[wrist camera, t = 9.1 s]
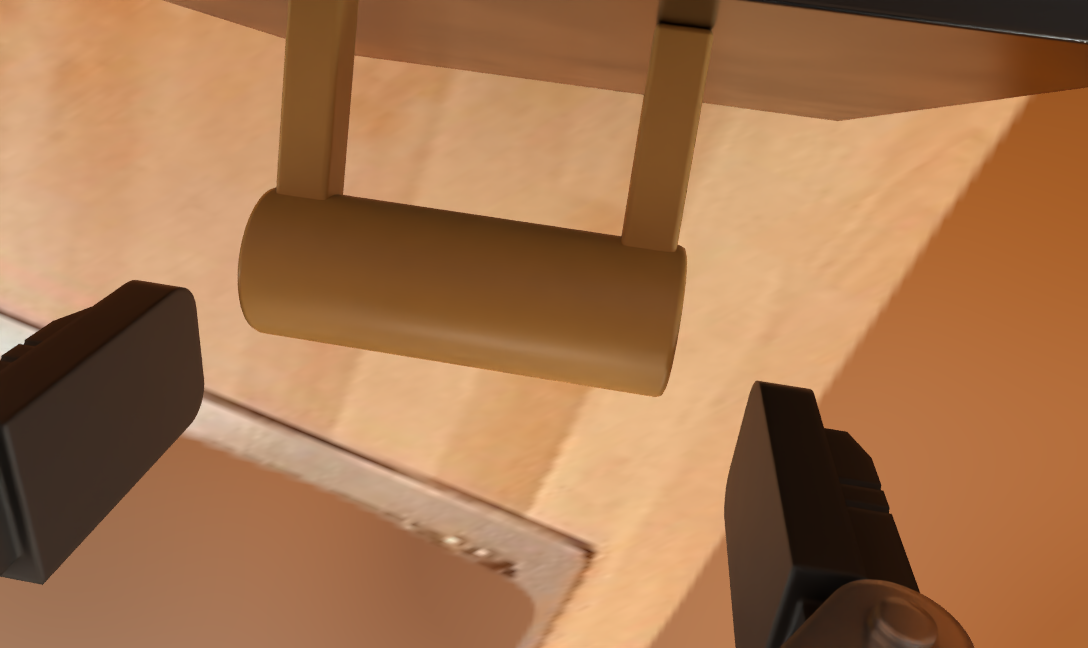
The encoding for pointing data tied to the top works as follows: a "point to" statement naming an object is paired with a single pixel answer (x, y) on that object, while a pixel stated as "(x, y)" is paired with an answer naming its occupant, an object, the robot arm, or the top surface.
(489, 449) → the top surface
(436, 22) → the bin lid
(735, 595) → the robot arm
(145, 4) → the top surface
